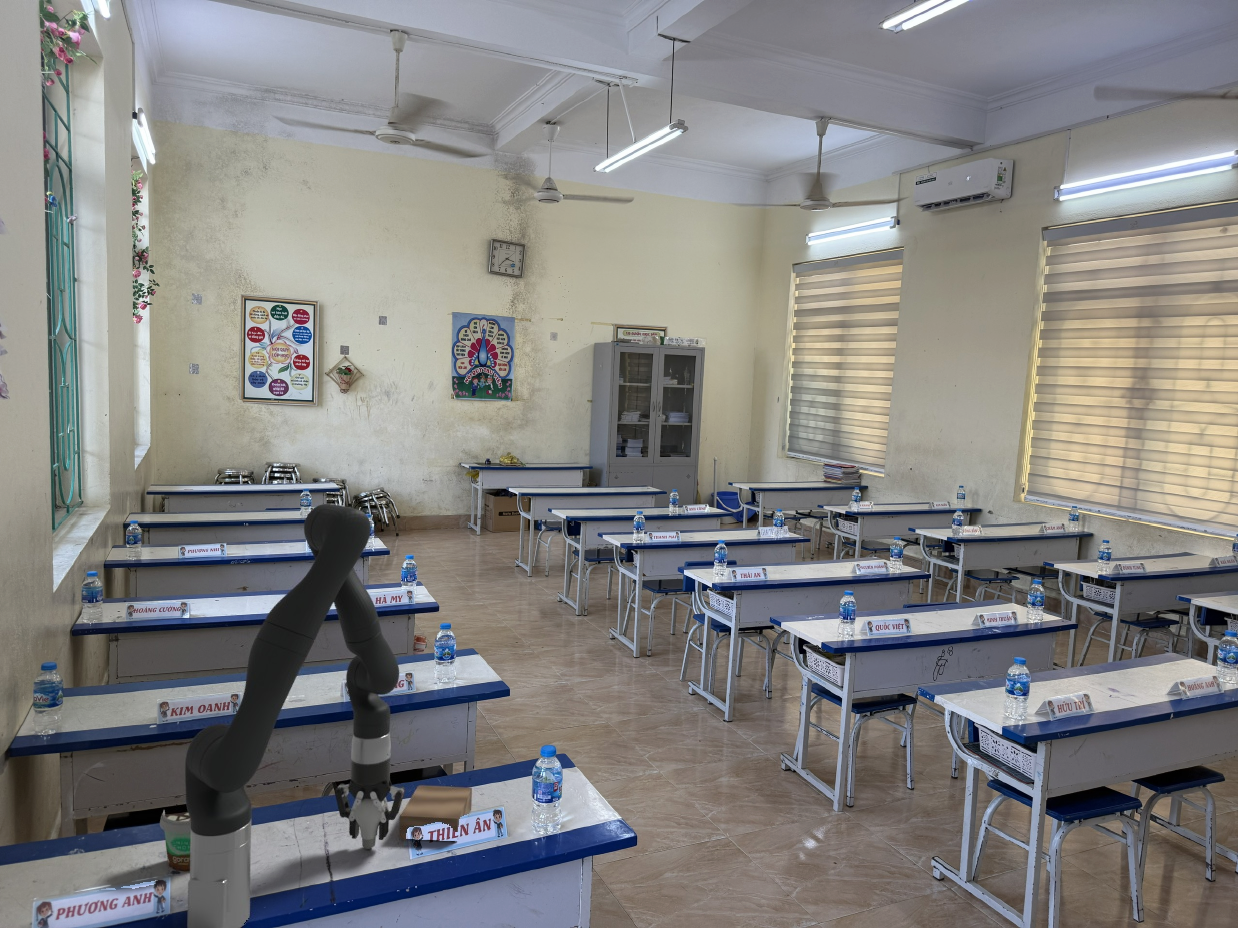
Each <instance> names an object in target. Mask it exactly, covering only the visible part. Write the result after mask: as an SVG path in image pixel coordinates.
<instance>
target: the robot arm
mask: <svg viewBox="0 0 1238 928" xmlns="http://www.w3.org/2000/svg"><path fill="white" fill-rule="evenodd" d="M371 528H372V526H371V522H370V519H369V516H368V515H367V514H366V513H365V512H364V511H362V510H360V509H357V508H354V507H349V506H345V505H344V506H343V505H340V504H339V505H337V504H334V503H333V504H330V503H325V504H323V503H322V504H318V505H316V506H315V507H313V508H312V509H311V510H310V511H309V513H308V514H307V516H306V517H305V520H304V524H303V533H304V538H305V539H306V542H307V544H308V547H309V549H310V551H311V553H312V555H313V557H314V562H313V563H312V565H311V567H310V568H309V570H308V572H307V573H306V575H304V577H303V578H302V580H300V582H298V583H297V584H296V585H295V586H294V587H293V588H292V589H291V590H289V591H288V592H287V594H285V595H284V596H283V597H282V598H281V599H280V600H279V601H278V602H277V603H275V604H274V606H273V607H272V609H271V610H269V612H268V613H267V615H266V617H265V619H264V621H263V623H262V625H261V627H260V628H259V631H258V633H257V635H256V637H255V638H254V640H253V643H252V645H251V648H250V652H249V654H248V655H249V656H248V660H247V661H248V662H247V669H246V676H245V685H244V691H243V695H242V698H241V702H240V703H239V707H238V709H237V711H236V713H235V715H234V717H233V719H232V720H231V723H230V724H224V723H217V724H215V723H214V724H211V725H209V726H207V727H205V728H203V729H202V730H200V731H199V732H197V734H196V735H195V736H194V737H193V739H192V740H191V742H190V743H189V746H188V748H187V751H186V754H185V755H186V756H185V765H184V766H185V767H184V768H185V769H184V770H185V771H184V772H185V773H184V774H185V775H184V776H185V779H184V782H185V803H186V804H185V805H186V809H187V812H188V813H189V816H190V820H191V844H190V871H189V880H188V882H187V924H186V925H187V926H186V927H187V928H242V927H243V926H244V925H245V924H246V923H247V922H246V920H248V921H249V919H250V913H251V912H250V911H251V864H252V863H251V861H252V860H251V859H252V857H251V856H252V855H251V854H252V853H251V851H252V814H253V812H252V810H253V809H252V808H253V807H252V803H251V802H252V801H251V800H250V798H249V796H248V794H247V792H246V789H245V788H244V786H246V784H248V783H249V782H250V780H251V779H252V778H253V777H254V775H255V774H256V772H257V771H258V769H259V767H260V764H261V763H262V760H263V758H264V755H265V752H266V750H267V747H268V744H269V742H270V740H271V736H272V734H273V731H274V728H275V725H276V723H277V720H278V718H279V715H280V714H281V711H282V709H283V707H284V704H285V703H286V700H287V698H288V696H289V694H290V692H291V690H292V687H293V686H294V683H295V680H296V679H297V676H298V675H299V673H300V670H301V669H302V667H303V665H304V663H305V661H306V660H307V657H308V655H309V653H310V651H311V649H312V646H313V645H314V644H315V641H316V638H317V636H318V634H319V632H320V630H321V627H322V625H323V624H324V621H325V619H326V617H327V616H328V613H329V611H330V609H331V608H332V606H333V604H334V608H335V610H336V613H337V614H336V615H337V617H338V621H339V625H340V628H341V632H342V636H343V640H344V643H345V646H346V648H347V650H348V651H349V652H350V653H352V654H354V655H355V656H354V657H353V658H352V659H351V660H350V662H349V664H348V666H347V668H346V669H347V670H346V674H345V675H346V676H345V680H346V689H347V692H348V693H347V694H348V697H349V701H350V705H351V708H352V712H353V723H352V724H353V726H352V727H353V729H352V731H353V732H352V740H351V754H350V755H351V756H350V757H351V758H350V761H351V762H350V782H349V783H348V784H345V783H340V784H339V785H338V786H337V788H335V790H334V795H335V800H336V804H337V808H338V809H337V810H338V813H339V816H340V818H346V819H348V820H349V823H348V824H349V827H348V828H349V830H348V834H349V836H350V837H351V839H354V840H355V839H357V838H358V836H359V834H360V827H359V825H358V823H357V821H356V819H355V817H354V811H355V809H356V807H357V806H358V805H359V804H360V803H361V801H362V800H364V799H372V801H373V803H374V805H376V807H377V806H378V807H377V808H378V810H379V812H382V816H381V819H380V822H379V826H378V841H384V839H385V838H386V837H387V836H388V834H389V831H390V829H389V825H390V823H389V822H390V821H394V820H395V819H396V817H397V815H399V813H400V809H401V806H402V802H403V799H404V795H405V791H406V788H405V786H400V787H396V786H394V785H392V782H391V778H390V777H391V776H390V775H391V753H392V747H391V745H392V744H391V743H392V742H391V732H390V731H391V730H390V729H391V728H390V727H391V708H390V706H389V704H388V703H387V702H385V700H383V699H382V698H381V697H380V696H381V695H382V696H383V695H384V696H385V695H387V694H390V693H391V692H392V691H394V689H395V688H396V686H397V685H398V682H399V679H400V678H399V677H400V668H399V663H398V660H397V658H396V656H395V654H394V653H393V651H392V648H391V646H390V645H389V643H388V642H387V640H386V638H385V636H384V635H383V633H382V632H383V631H382V628H381V624H380V619H379V615H378V612H377V609H376V606H375V604H374V601H373V599H372V598H371V595H370V594H369V592H368V590H367V588H366V587H365V586H364V583H363V582H362V580H361V579H360V578H359V576H358V574H357V572H356V570H355V568H354V567H355V565H356V564H357V562H358V561H359V559H360V558H361V555H362V554H363V552H364V550H365V548H366V546H367V544H368V542H369V539H370V535H371V530H372V529H371ZM349 793H350V795H351V796H352V797H353V799H354V802H353V805H352V807H351V806H350V802H349V799H348V798H349V797H348V795H349ZM388 794H391V799H392V800H393V802H392V806H391V810H390V809H389V806H388V800H387V796H388ZM382 801H384V805H383V806H382V805H381V802H382ZM356 805H357V806H356ZM385 808H386V810H385V811H384V809H385ZM248 918H249V919H248ZM245 922H246V923H245ZM244 923H245V924H244Z"/></svg>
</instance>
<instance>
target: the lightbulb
mask: <svg viewBox="0 0 1238 928" xmlns="http://www.w3.org/2000/svg"><path fill="white" fill-rule="evenodd" d="M381 805H382V806H383V805H384V801H382V802H381ZM356 806H357V805H356ZM377 807H378V806H377ZM377 807H376V805H374V803H373V801H372V799H364V800H362V801H361V803H360V804H359V805H358V806H357V807H356V809H355V811H354V817H355V819H356V821H357V823H358V825H359V831H360V837H361V839H362V840H361V843H362V845H361V846H362V848H364V849H366V850H371V849H372V848H374V847H375V846H376V841H377V835H378V832H379V822H380V819H381V816H382V812H379V810H378V808H377ZM385 810H386V808H385V809H384V811H385Z"/></svg>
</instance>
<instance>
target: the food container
mask: <svg viewBox="0 0 1238 928" xmlns="http://www.w3.org/2000/svg"><path fill="white" fill-rule="evenodd" d="M159 826H160V828H161V829H162V830H163V831H164V839H165V840H164V841H165V848H166V850H165V851H166V857H167V865H168V867H169V869H170V870H173V871H176V872H184V873H185V872H190V844H191V820H190V816H189V813H188V811H185V812H179V813H169V814H166V812H165V809H163V812H162V813H161V816H160V821H159Z"/></svg>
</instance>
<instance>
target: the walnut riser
mask: <svg viewBox="0 0 1238 928" xmlns="http://www.w3.org/2000/svg"><path fill="white" fill-rule="evenodd" d="M472 795H473V787H465V786H464V787H462V786H441V785H440V786H439V785H424V784H421V785H418V786H417V787H416V789H415V790H414V792H413V793H412V795H411V797H410V799H409V801H407V804H406V805H405V807H404V808H403V810H402V812H401V814H400V815H399V833H398V834H399V841H400V840H401V841H403V840H404V841H407V840H406V833H407V829H408V828H409V827H414V826H424V825H427V824H431V823H435V822H442V824H443V823H444V824H447V825H448V824H449V826H451V828H453V831H454V830H455V832H458V825H459V819H460V817H462V816H464V815H467V814H469V813H471V812H472V802H473V801H472V797H473V796H472ZM469 815H470V814H469Z"/></svg>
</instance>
